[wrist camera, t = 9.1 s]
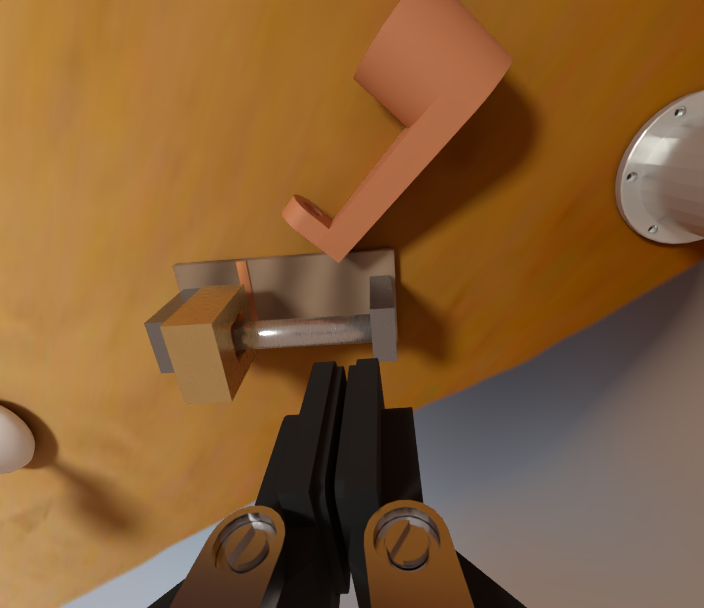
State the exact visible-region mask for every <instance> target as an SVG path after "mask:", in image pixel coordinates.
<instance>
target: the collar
mask: <svg viewBox="0 0 704 608" xmlns="http://www.w3.org/2000/svg"><path fill="white" fill-rule="evenodd" d="M235 319H236V320H237V321H238V322H245V321H252V319H251V314H250V309H249V305H248V300H247V295H246V291H245V286H244V283H243V284H229V285H214V286H202V287H201V288H200V289H199V290H198V291H197V292H196V293H195V294H194V295H193V296H192V297H191V298H190V299H189V300H188V301H186V302H185V303H184V304H183V305H182V306H181V307H180V308H179V309H178V310H177V311H176V312H175V313H174V314H173V315H172V316H171V317H170V318H168V319H167V320H166V321H165V322H164V323H163V324H162V325H161V326H160V329H161V332H162V335H163V338H164V341H165V344H166V347H167V350H168V353H169V356H170V359H171V362H172V366H173V369H174V372H175V375H176V378H177V381H178V384H179V387H180V390H181V393H182V396H183V399H184V402H185V404H192V403H214V402H232V401H233V399H234V397H235V395H236V393H237V391H238V389H239V387H240V385H241V383H242V381H243V379H244V377H245V375H246V373H247V371H248V369H249V367H250V365H251V363H252V361H253V359H254V357H255V355H256V353H257V351H258V349H249V350H239V352H238V353H235V350H234V345H233V341H232V337H231V333H230V329H229V327H230V325H231V324H232V323H233V321H234V320H235Z"/></svg>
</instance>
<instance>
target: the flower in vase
mask: <svg viewBox="0 0 704 608" xmlns="http://www.w3.org/2000/svg"><path fill="white" fill-rule="evenodd" d="M34 450H35V441H34V437H33V435H32V433H31V431H30V429H29V428H28V426H27V425H26V424H25V423H24V421H23V420H21V419H20V418H19V417H18V416H17V415H16V414H14V413H13V412H11V411H10V410H8V409H7V408H5V407H3V406H1V405H0V474H5V473H10V472H14V471H16V470H18V469H20V468H22V467H24V466H26V465H27V464H28V463H29V462H30V461H31V459H32V458H33V455H34Z"/></svg>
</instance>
